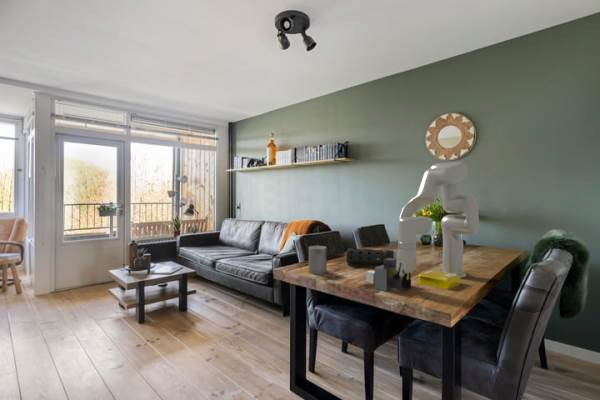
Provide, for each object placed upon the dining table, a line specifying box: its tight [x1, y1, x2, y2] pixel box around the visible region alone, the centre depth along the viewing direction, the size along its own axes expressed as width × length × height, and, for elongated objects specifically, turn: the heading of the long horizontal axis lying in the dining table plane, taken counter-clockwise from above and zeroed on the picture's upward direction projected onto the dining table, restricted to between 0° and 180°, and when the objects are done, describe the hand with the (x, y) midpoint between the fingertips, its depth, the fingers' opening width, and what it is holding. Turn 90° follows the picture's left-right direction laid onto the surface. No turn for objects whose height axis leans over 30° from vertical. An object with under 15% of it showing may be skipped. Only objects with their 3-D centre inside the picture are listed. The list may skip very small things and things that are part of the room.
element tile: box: [417, 269, 462, 290], centre depth 147 cm, size 15×15×5 cm
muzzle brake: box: [346, 247, 398, 267], centre depth 180 cm, size 10×28×10 cm, turn 73°
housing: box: [374, 258, 402, 292], centre depth 141 cm, size 16×6×12 cm, turn 134°
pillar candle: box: [308, 244, 328, 275], centre depth 166 cm, size 10×10×15 cm
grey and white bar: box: [365, 270, 406, 291], centre depth 143 cm, size 4×18×5 cm, turn 44°
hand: (406, 287), depth 135 cm, fingers closed
